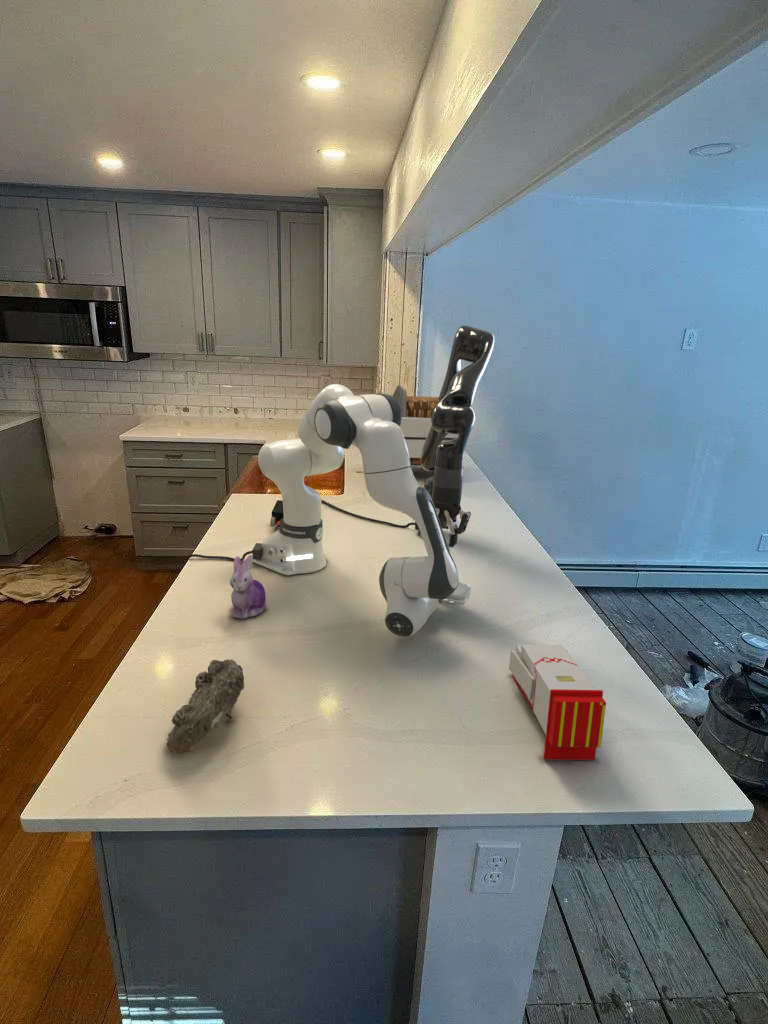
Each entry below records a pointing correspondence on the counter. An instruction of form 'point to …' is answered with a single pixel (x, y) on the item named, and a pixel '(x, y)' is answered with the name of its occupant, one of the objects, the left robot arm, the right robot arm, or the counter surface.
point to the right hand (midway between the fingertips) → (442, 543)
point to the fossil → (206, 705)
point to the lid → (447, 535)
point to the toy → (560, 700)
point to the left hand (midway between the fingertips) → (440, 575)
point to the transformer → (417, 422)
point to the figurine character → (277, 514)
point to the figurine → (246, 590)
